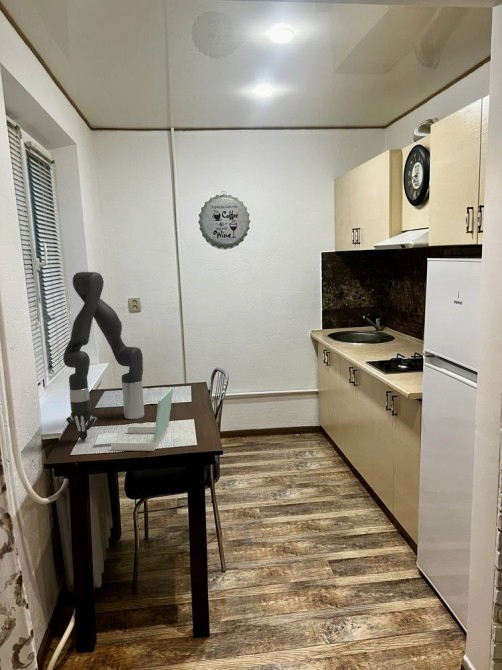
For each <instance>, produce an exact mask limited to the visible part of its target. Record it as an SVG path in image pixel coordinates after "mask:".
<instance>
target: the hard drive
mask: <svg viewBox="0 0 502 670" xmlns="http://www.w3.org/2000/svg"><path fill="white" fill-rule="evenodd" d="M118 438H119V432H108V433H99V434H98V435H97V438H96V439H95V441H94V444H93V448H102V447H103V448H106V447H111V442H118V441H117V440H118Z"/></svg>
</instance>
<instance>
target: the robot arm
mask: <svg viewBox="0 0 502 670" xmlns="http://www.w3.org/2000/svg"><path fill="white" fill-rule="evenodd" d="M104 282H105V281H104V278H103V276H102V275H101V274H100V273H99V272H96V271H79V272H76V273H74V275H73V277H72V286H73V288H74V291H75V292H76V294H77V295H78V296H79V297H80V298H81V300H82V302H83V305H82V307H81V309H80V311H79V312H78V313H77V315H76V317H75V319H74V320H73V324H72V328H71V329H72V330H71V335H70V340H69V341H68V343H67V346H66V347H65V350H64V352H63V357H62V358H63V360H62V361H63V363H64V365H65V366H66V367H68V368H71V369H72V368H73V369H74V373H72V374H70V375H69V376H68V384H69V401H70V411H71V413H70V415H69V416H68V417H66V418H65V421H66V422H67V423H68V424H69V425H70V426H71V428H72V429H73V430H76V431H78V436H79V437H78V438H79V439H80V440H81V441H84V440H86V439H87V437H88V430H90V429H91V428H92V427H93V425H94V424H95V422H96V421H97V420H98V416H94V415H93V413H92V411H91V399H90V390H89V385H88V384H89V382H88V375H89V370H90V364H91V363H90V362H91V360H90V356H89V354H88V353H87V352H86V351H83V350H81V349H82V347H83V346H87V345H88V343H89V341H90V335H91V329H92V324H93V319H94V320H95V322H96V324H97V326H98V328H99V329H100V331H101V332H102V334H103V336H104V338H105V339H106V342H107V344H108V345H109V347H110V350H111V351H112V353H113V356H114V359H115V361H116V362H117V364H118V365H120V366H121V367H128V368H129V370H128V372H126V373H124V374H122V375H121V385H122V386H121V388H122V403H123V415H124V416H123V417H124V418H125V419H128V420H136V419H141V418H143V417H144V416H145V405H144V390H143V389H144V388H143V374H144V364H143V363H144V361H143V360H144V358H143V352H142V350H141V348H140V347H137V346H127V345H126V344H125V343H124V341H123V339H122V338H121V337H122V336H121V335H122V330H123V324H122V322H121V319H120V318H119V315H118V314H117V312H116V311H115V309H113V308H112V307H111V306H110V304H108V303H107V302H105V301H104V300H103V299H101V295H102V292H103V290H104ZM88 422H89V423H88Z"/></svg>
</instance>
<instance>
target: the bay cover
mask: <svg viewBox="0 0 502 670" xmlns="http://www.w3.org/2000/svg"><path fill="white" fill-rule="evenodd" d="M173 393H174V387H171V388H169V389H168V391H166V392H165V394H163V395H162V396H161V397H160V399H158V401H157V403H158V404H157V410H156V418H155V419H156V420H155V425H154V426H155V434H154V437H153V440H154V442H155V443H156V441H157V440H158V439H159V438H160V436H161V435H162V434H163V433H164V431H165V430H166V429H167V430H168V427H169V424H170V416H171V407H172V398H173Z"/></svg>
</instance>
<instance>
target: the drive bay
mask: <svg viewBox="0 0 502 670" xmlns="http://www.w3.org/2000/svg"><path fill="white" fill-rule="evenodd" d="M155 426H156V425H127V434H150V433H155ZM167 434H168V428H167V429H166V430H165V431H164V433H163V434H162V435H161V436H160V438H159V439H158V440H157V441H156V443H155V442H154V439H153V440H152V441H151V442H149V441H148V442H146V441H143V442H141V441H116V442H111V446H110V447H111V451H149V452H151V451H152V452H154V451H155V450H156V449H157V447H158V446H159V445H160V444H161V442H162V441H163V440H164V438H166V437H165V436H166V435H167Z"/></svg>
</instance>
